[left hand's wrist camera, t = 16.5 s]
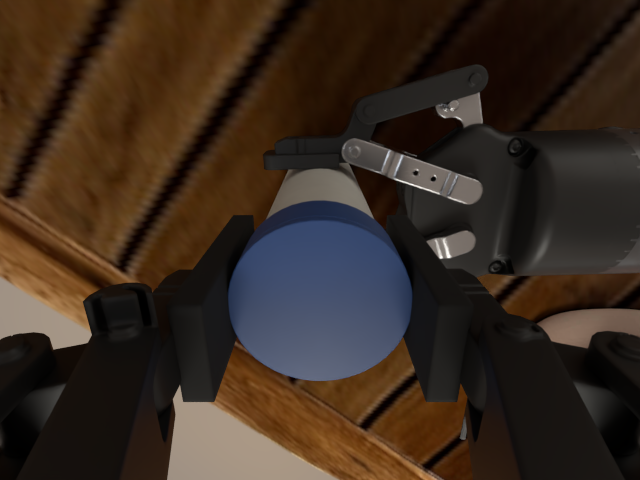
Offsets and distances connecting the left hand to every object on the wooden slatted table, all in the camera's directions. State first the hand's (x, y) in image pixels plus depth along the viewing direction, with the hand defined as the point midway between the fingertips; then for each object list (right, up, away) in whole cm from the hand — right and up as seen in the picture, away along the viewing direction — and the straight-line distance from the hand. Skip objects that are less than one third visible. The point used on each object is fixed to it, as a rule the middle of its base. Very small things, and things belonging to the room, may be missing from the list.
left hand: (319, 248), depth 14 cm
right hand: (-3, +2, +5) cm, 6 cm away
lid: (0, -1, -4) cm, 4 cm away
